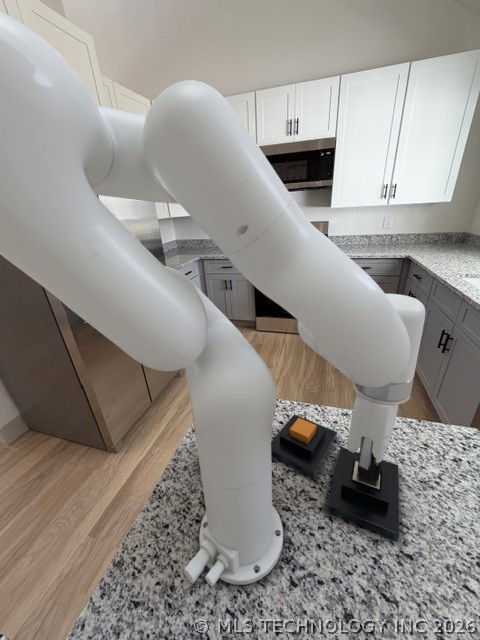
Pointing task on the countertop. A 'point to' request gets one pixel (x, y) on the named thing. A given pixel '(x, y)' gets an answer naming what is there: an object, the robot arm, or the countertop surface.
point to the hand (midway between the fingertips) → (368, 473)
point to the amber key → (303, 430)
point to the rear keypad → (303, 448)
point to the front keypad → (366, 497)
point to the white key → (365, 480)
